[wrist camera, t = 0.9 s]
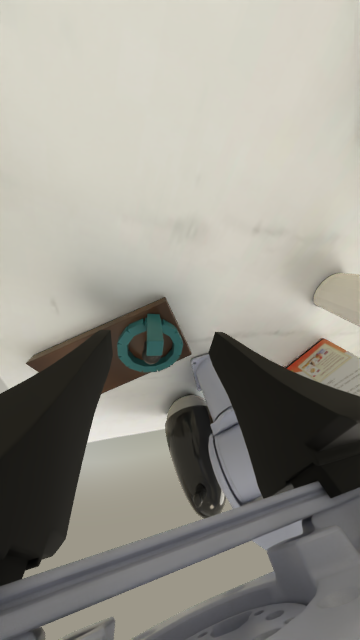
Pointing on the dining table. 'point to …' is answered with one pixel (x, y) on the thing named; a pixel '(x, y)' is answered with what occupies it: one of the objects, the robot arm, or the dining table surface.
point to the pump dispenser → (194, 454)
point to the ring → (150, 343)
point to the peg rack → (137, 345)
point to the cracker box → (330, 367)
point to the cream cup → (340, 296)
